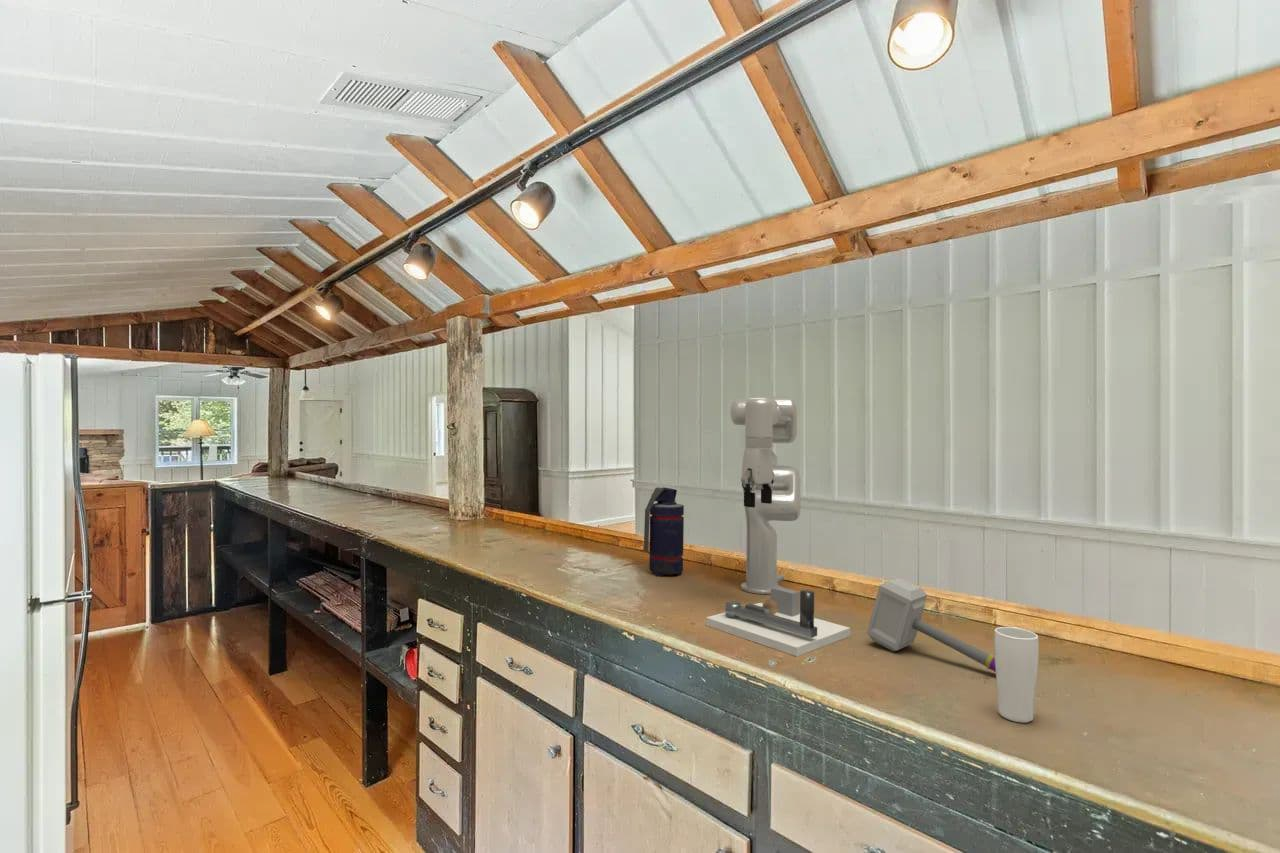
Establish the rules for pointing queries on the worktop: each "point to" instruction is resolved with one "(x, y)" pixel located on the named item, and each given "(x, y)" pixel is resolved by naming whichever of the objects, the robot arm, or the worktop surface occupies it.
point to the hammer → (911, 621)
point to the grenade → (664, 532)
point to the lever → (763, 616)
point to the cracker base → (777, 636)
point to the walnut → (771, 606)
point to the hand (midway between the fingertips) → (758, 505)
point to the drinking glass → (1016, 672)
